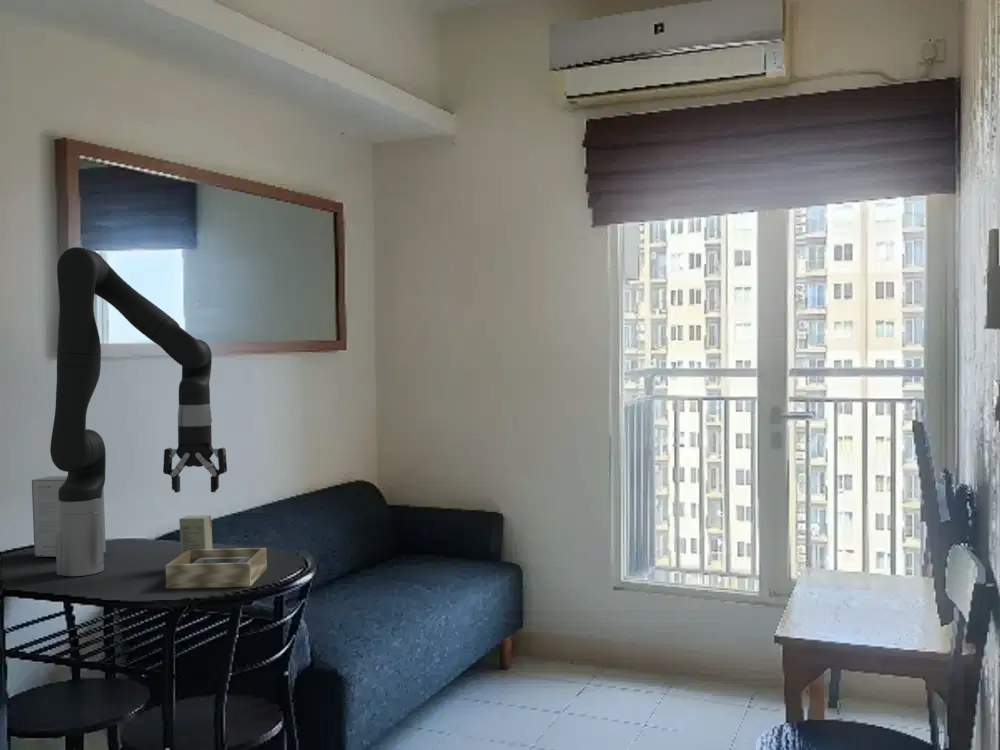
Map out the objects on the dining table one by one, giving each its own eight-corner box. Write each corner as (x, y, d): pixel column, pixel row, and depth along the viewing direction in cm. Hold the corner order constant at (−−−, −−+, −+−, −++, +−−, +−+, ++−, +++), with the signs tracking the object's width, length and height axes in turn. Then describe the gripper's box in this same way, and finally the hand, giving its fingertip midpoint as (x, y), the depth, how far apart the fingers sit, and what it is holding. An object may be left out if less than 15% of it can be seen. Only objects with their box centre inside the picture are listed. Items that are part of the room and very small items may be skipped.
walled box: (166, 588, 197) (165, 565, 197) (189, 570, 213) (188, 549, 213) (250, 586, 198) (249, 563, 198) (266, 569, 214) (266, 547, 214)
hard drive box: (107, 552, 235) (105, 475, 234) (89, 559, 227) (87, 479, 227) (52, 551, 237) (49, 475, 237) (32, 558, 230) (30, 479, 229)
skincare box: (214, 565, 218) (212, 514, 218) (206, 570, 214) (205, 518, 214) (188, 565, 219) (186, 514, 219) (180, 569, 214) (178, 518, 214)
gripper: (158, 425, 212) (159, 494, 212) (220, 424, 212) (221, 494, 212) (169, 422, 219) (170, 489, 220) (229, 422, 219) (230, 489, 220)
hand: (195, 492), depth 216 cm, fingers open, 8 cm apart
